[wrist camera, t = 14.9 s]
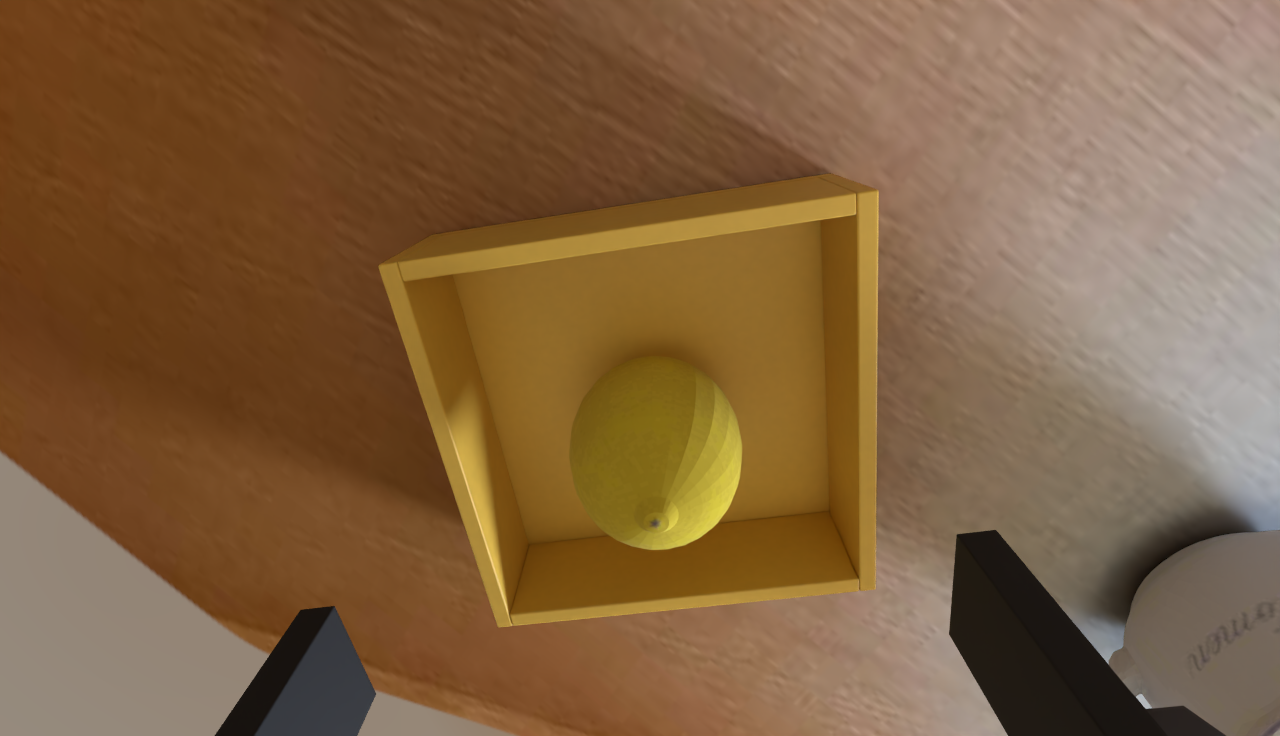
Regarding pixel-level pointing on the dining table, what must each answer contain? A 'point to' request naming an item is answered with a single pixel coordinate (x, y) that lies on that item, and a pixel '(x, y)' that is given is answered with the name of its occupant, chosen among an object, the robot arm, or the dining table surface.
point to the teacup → (1210, 634)
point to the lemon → (655, 453)
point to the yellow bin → (669, 327)
